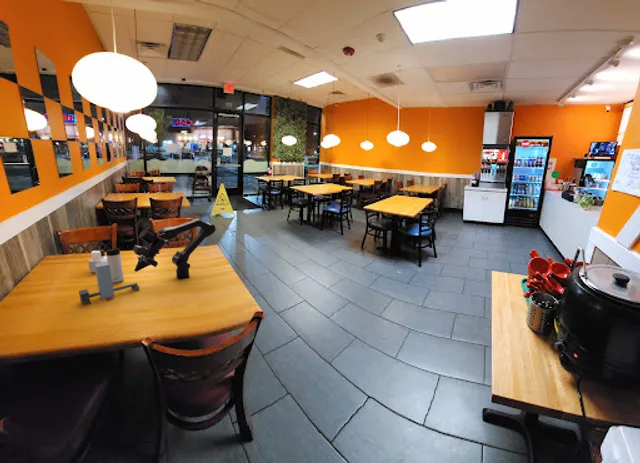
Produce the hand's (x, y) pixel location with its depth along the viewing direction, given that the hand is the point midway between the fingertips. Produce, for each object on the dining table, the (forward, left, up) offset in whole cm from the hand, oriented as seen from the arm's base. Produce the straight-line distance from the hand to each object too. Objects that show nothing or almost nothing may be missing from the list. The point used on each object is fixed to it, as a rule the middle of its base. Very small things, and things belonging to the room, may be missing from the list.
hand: (135, 271), depth 155 cm
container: (+21, -37, -11) cm, 44 cm away
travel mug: (+10, -15, -11) cm, 21 cm away
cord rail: (+11, +4, -10) cm, 16 cm away
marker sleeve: (+13, +5, -10) cm, 17 cm away
